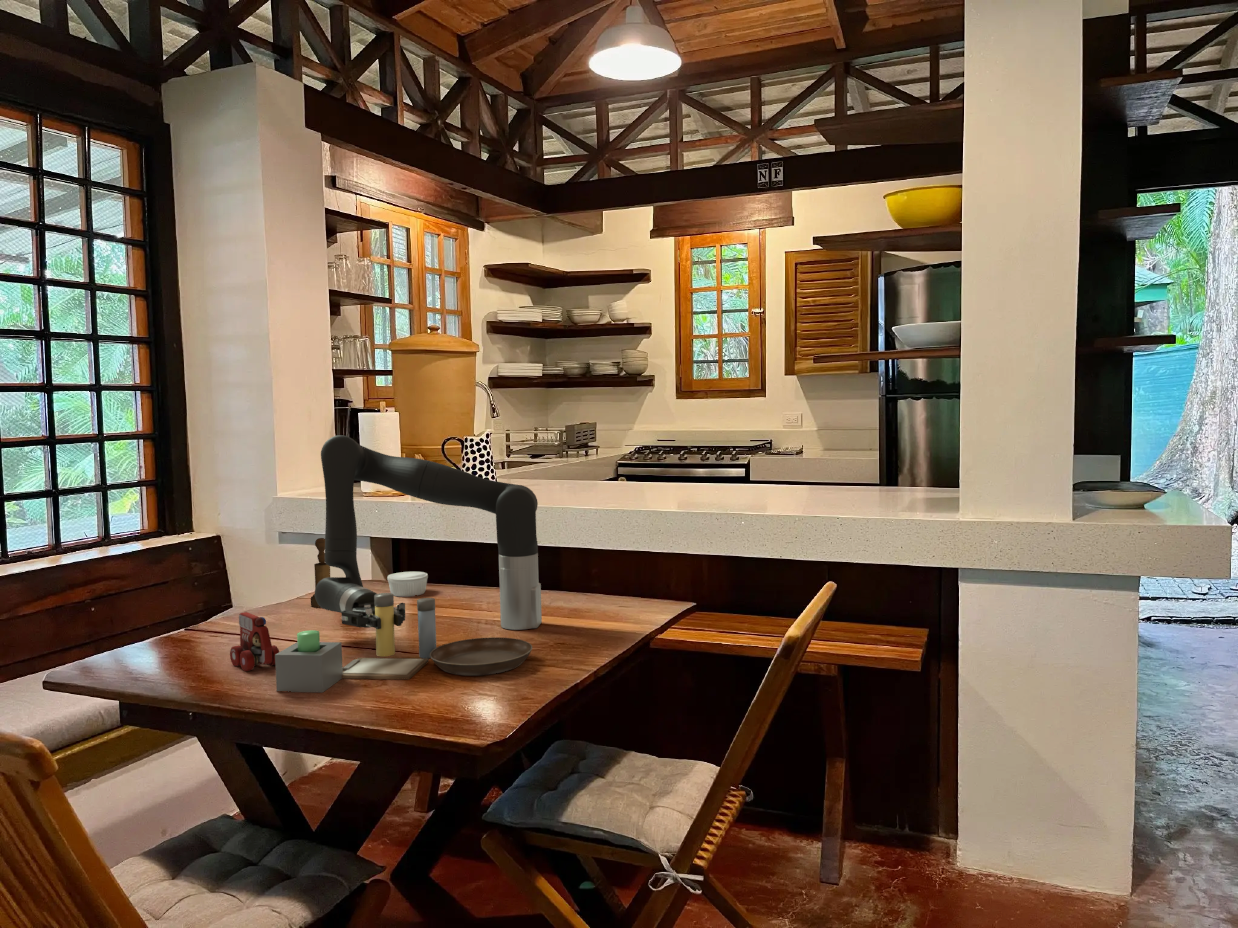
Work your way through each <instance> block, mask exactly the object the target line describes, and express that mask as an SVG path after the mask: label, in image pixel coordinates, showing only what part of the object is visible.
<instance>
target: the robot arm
mask: <svg viewBox="0 0 1238 928" xmlns="http://www.w3.org/2000/svg"><path fill="white" fill-rule="evenodd" d="M320 460H321V466H322V472H323V482H324V489H325V490H324V491H325V533H324V539H325V550H324V553H325V563H326V564H327V565H328V566H330V567H333V568H337V569H340V570H341V571H342V572H343V573H344V574H345V575H344V576H345V577H343V576H341V577H340V576H339V577H338V576H336V577H335V576H334V577H332V576H330V577H328V578H324V579H322V580H321V581H319V582H318V584H317V586H316V588H315V587H314V588H315V589H314V594H315V599H316V601H317V603H318V605H319V606H320V607H319V608H322V609H323V610H325V611H329V612H334V613H335V612H337V613H341V624H342V625H346V626H351V627H355V628H365V629H367V628H370V629H371V628H374V629H375V630H376V629H381V618H380V617H378V616H376V615H375V600H374V595H376V594H378V593H377V592H375V591H373V590H371V589H369V588H367V587H364V584H363V581H362V578H361V577H362V576H361V574H360V569H359V566H358V560H357V559H358V558H357V551H358V550H357V547H358V546H357V545H358V544H357V543H358V541H357V540H358V531H357V530H358V529H357V519H356V511H355V502H354V487H355V486H354V483H355V481H359V482H366V483H369V484H375V485H381V486H383V487H386V488H388V489H391V490H393V491H396V492H398V493H401V494H404V495H407V496H410V497H414V498H416V499H420V500H424V501H426V502H427V501H428V502H431V503H434V504H439V505H444V506H445V505H447V506H455V507H467V508H475V509H479V510H482V511H486V512H488V513H492V514H495V526H496V529H495V530H496V541H497V547H498V548H497V549H498V570H499V571H498V577H499V606H500V609H499V610H500V611H499V613H500V627H501V628H503V629H506V630H513V631H514V630H515V631H516V630H517V631H519V630H528V629H538V627H539V626H540V625H541V623H543V619H542V589H541V588H542V585H541V584H542V583H540V582H539V557H538V556H539V545H538V536H537V510H538V505H539V504H538V503H539V502H538V499H537V496H536V494H535V493H534V491H533V490H531V489H530V488H529V487H528V486H525V485H524V484H523V485H521V484H515V483H507V482H502V481H496V480H491V479H487V478H483V477H480V476H477V475H475V474H472V473H469V472H467V471H464V470H461V469H458V468H455V467H451V466H450V465H445V464H442V463H439V462H435V461H431V460H429V459H428V460H427V459H424V458H423V459H422V458H415V457H407V456H405V457H404V456H392V455H389V454H385V453H382V452H378V451H376V450H373V449H370V448H368V447H366V446H363V445H361V444H359V443H358V442H357V441H356V440H355V439H353V438H352V437H349V436H348V435H342V434H338V435H333V436H332V437H330V438H328V439H327V440H326V441H325V442H324V444H323V445H322V447H321V451H320ZM405 621H406V603H405V602H400V603H398V604H397V605H396V606H394V626H397V627H401V626H402V624H403V623H404V622H405Z"/></svg>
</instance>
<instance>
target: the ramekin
mask: <svg viewBox="0 0 1238 928" xmlns="http://www.w3.org/2000/svg"><path fill="white" fill-rule="evenodd" d="M428 578H429V575H428V573H427V572H424V571H403V572H402V571H401V572H396V573H390V574H388V575H387V578H386V579H387V581H388V585H389V593H392V594H394V597H402V598H405V597H406V598H407V597H408V598H409V597H416V596H415V595H417V596H420V595H421V596H422V595H423V594H425V592H426V589H427V585H428V584H427V583H428Z"/></svg>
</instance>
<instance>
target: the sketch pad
mask: <svg viewBox="0 0 1238 928" xmlns="http://www.w3.org/2000/svg"><path fill="white" fill-rule="evenodd" d="M429 661H430V658H420V657H418V658H416V657H415V658H414V657H413V658H410V657H409V658H408V657H407V658H404V657H358V658H357V659H353V660H351V661H350V662H349V663H347V664H346V665H345V666H342V667H343V675H342V679H350V680H351V679H355V680H357V679H358V680H361V679H363V680H365V679H366V680H371V679H372V680H410V679H411V678H412V677H413V676H414V675H416V674H417V673H418V672H419V671H420V670H421V669H422V668H423V667H424V666H425V665H427V664H428V663H429Z"/></svg>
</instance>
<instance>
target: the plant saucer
mask: <svg viewBox="0 0 1238 928" xmlns="http://www.w3.org/2000/svg"><path fill="white" fill-rule="evenodd" d="M532 650H533V645H532V644H531V643H530V642H528V641H525V640H523V639H518V638H513V637H512V638H509V637H500V636H499V637H493V636H492V637H476V638H475V637H474V638H469V639H462V640H461V639H460V640H457V641H456V640H455V641H451V642H448V643H445V644H441V645H440V646H436V648H435V649H434V650H432V651H431V653H430V657H431V658H430V659H431V660H432V662H433V663H434V664H435V665H436V666H437V667H438V668H439V669H441V670H442V671H443V672H445V673H448V674H452V675H456V676H457V675H458V676H465V677H466V676H469V677H470V676H471V677H473V676H474V677H476V676H477V677H478V676H479V677H480V676H488V675H496V673H497V674H500V673H505V671H506V672H509V671H511V670H513V669H516V668H517V667H519V666H520V665H522V664H523V663H524V662H525V661H526V660H527V659H528V657H529V656H530V654H531V652H532Z"/></svg>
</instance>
